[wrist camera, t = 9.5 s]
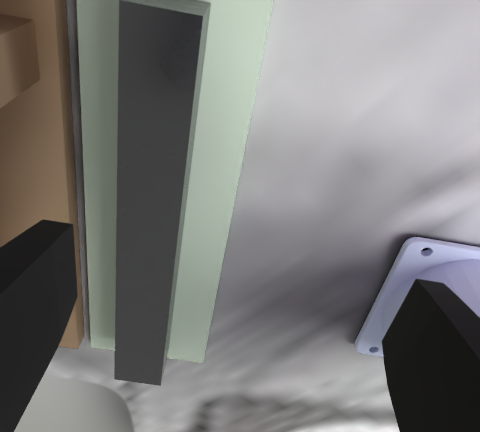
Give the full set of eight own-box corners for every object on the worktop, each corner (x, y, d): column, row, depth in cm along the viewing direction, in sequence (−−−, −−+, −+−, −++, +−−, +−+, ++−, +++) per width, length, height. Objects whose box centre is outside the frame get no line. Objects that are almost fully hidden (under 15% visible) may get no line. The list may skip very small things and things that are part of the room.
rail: (211, 2, 14) (202, 15, 12) (168, 347, 24) (160, 385, 22) (138, -12, 14) (119, -1, 12) (126, 341, 24) (114, 379, 22)
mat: (277, -23, 14) (277, -21, 14) (203, 357, 25) (203, 363, 25) (78, -63, 14) (73, -62, 13) (93, 341, 25) (90, 347, 25)
